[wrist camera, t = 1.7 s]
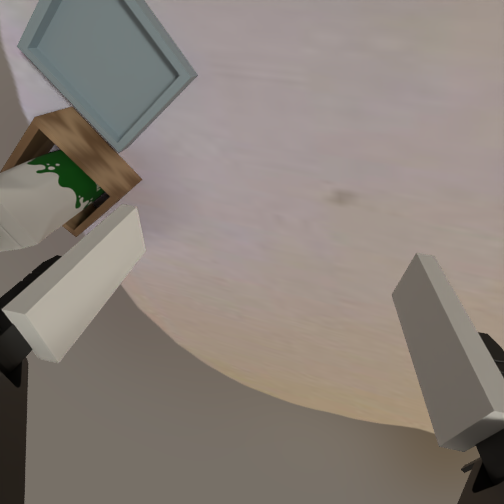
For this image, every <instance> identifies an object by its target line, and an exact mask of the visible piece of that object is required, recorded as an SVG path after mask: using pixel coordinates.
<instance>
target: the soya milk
mask: <svg viewBox="0 0 504 504" xmlns="http://www.w3.org/2000/svg"><path fill="white" fill-rule="evenodd" d="M103 193H105V191H104V190H103V189H102V188H101V187H100V186H99V185H98V184H96V183H95V182H94V181H93V180H92V179H91V178H90V177H89V176H88V175H87V174H86V173H85V172H84V171H83V170H82V169H81V168H80V167H79V166H78V165H77V164H75V163H74V162H73V161H72V160H71V159H70V158H69V157H68V156H67V155H66V154H65V153H64V152H63V151H62V150H57V151H54V152H50V153H47V154H44V155H41V156H39V157H36V158H34V159H31V160H29V161H27V162H24V163H22V164H20V165H17V166H15V167H13V168H10V169H8V170H6V171H4V172H1V173H0V252H3V251H10V250H19V249H23V248H26V247H29V246H35V245H38V244H39V243H40V242H41V241H42V240H43V239H45V238H46V237H47V236H48V235H49V234H50V233H52V232H53V231H55V230H56V229H58V228H59V227H60V226H62V225H63V224H65V223H66V222H67V221H69V220H70V219H71V218H73V217H74V216H75V215H77V214H78V213H79V212H81V211H82V210H83V209H85V208H86V207H87V206H89V205H90V204H91V203H92V202H94V201H95V200H96V199H97V198H99V197H100V196H101V195H102V194H103Z"/></svg>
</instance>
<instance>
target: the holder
mask: <svg viewBox="0 0 504 504" xmlns="http://www.w3.org/2000/svg"><path fill="white" fill-rule="evenodd" d="M55 144H56V145H57V146H58V147H59V148H60V149H61V150H62V151H63V152H64V153H65V154H66V155H67V156H68V157H69V158H70V159H71V160H72V161H73V162H74V163H75V164H77V165H78V166H79V167H80V168H81V169H82V170H83V171H84V172H85V173H86V174H87V175H88V176H89V177H90V178H91V179H92V180H93V181H94V182H95V183H96V184H98V185H99V186H100V187H101V188H102V189H103V190H104V191H105V192H106V193H107V194H108V195H109V196H110V197H109V198H108V199H107V200H106V201H105V202H104V203H103V204H102V205H101V206H100V207H99V208H96V207H95V206H94V205H93V204H92V203H91V204H90V205H89V206H87V207H86V208H85V209H83V210H82V211H81V212H79V213H78V214H77V215H75V216H74V217H73V218H71V219H70V220H69V221H67V222H66V223H65V224H63V225H62V226H63V227H64V228H66V229H67V230H68V231H69V232H70V233H72V234H73V235H74V236H75V237H77V236H78V235H79V234H80V233H82V232H83V231H84V230H85V229H87V228H88V227H89V226H90V225H91V224H92V223H94V222H95V221H96V220H97V219H98V218H100V217H101V216H102V215H103V214H104V213H105V212H106V211H108V210H109V209H110V208H111V207H112V206H113V205H114V204H115V203H117V202H118V201H119V200H120V199H121V198H122V197H123V196H124V195H125V194H127V193H128V192H129V191H130V190H131V189H132V188H133V187H134V186H136V185H137V184H138V183H139V182H140V181H141V180H142V179H141V178H140V177H139V176H138V175H137V174H136V172H135V171H134V170H133V169H132V168H131V167H130V166H129V165H128V164H127V163H126V162H125V161H124V160H123V159H122V158H121V157H120V156H119V155H118V154H117V153H116V152H115V151H114V150H113V148H112V147H111V146H110V145H109V144H108V143H107V142H106V141H105V140H104V139H103V138H102V137H101V136H100V135H99V134H98V133H97V132H96V131H95V130H94V129H93V128H92V127H91V125H90V124H89V123H88V122H87V121H86V120H85V119H84V118H83V117H82V116H81V115H80V114H79V113H78V112H77V111H76V110H75V109H74V108H73V107H69V108H65V109H62V110H58V111H55V112H51V113H47V114H44V115H40V116H37V117H35V118H34V119H33V121H32V122H31V124H30V126H29V127H28V129H27V130H26V132H25V133H24V135H23V137H22V138H21V140H20V142H19V143H18V145H17V146H16V148H15V149H14V151H13V153H12V155H11V156H10V157H9V159H8V160H7V162H6V164H5V165H4V167H3V168H2V170H1V172H4V171H6V170H8V169H10V168H13V167H15V166H17V165H20V164H22V163H24V162H27V161H29V160H31V159H34V158H36V157H39V156H41V155H44V154H47V153H49V151H50V150H51V149H52V147H53V146H54V145H55ZM1 172H0V173H1Z"/></svg>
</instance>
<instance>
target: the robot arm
mask: <svg viewBox="0 0 504 504" xmlns="http://www.w3.org/2000/svg"><path fill="white" fill-rule="evenodd" d="M145 252H146V249H145V244H144V239H143V234H142V229H141V224H140V220H139V215H138V210H137V207H136V206H130V205H124V204H122V205H120V206H119V207H118V208H117V209H116V210H115V211H114V212H112V213H111V214H110V215H109V216H108V217H107V218H106V219H104V220H103V221H102V222H101V223H100V224H99V225H98V226H96V227H95V228H94V229H93V230H92V231H91V232H90V233H88V234H87V235H86V236H85V237H84V238H83V239H82V240H80V241H79V242H78V243H77V244H76V245H75V246H74V247H73V248H71V249H70V250H69V251H68V252H67V253H66V254H64V255H63V256H58V255H57V256H55V257H53V258H51V259H49V260H47V261H45V262H43V263H42V264H41V265H39V266H38V267H37V268H36V269H34V270H33V271H32V273H31V274H28V275H27V276H26V277H25V278H24V279H23V281H20V282H19V283H18V284H17V285H15V286H14V287H13V288H12V289H11V290H10V291H8V292H7V293H6V294H4V295H3V296H2V297H1V298H0V504H24V495H25V459H26V458H25V456H26V424H27V387H28V361H27V358H26V356H27V355H28V354H29V353H30V352H31V350H33V351H34V353H35V354H36V355H37V357H38V358H39V359H43V360H47V361H52V362H56V363H59V362H60V361H61V359H62V358H63V357H64V356H65V354H66V353H67V352H68V350H69V349H70V348H71V347H72V345H73V344H74V343H75V341H76V340H77V339H78V338H79V336H80V335H81V333H83V331H84V330H85V328H86V327H87V326H88V325H89V323H90V322H91V321H92V320H93V318H94V317H95V316H96V314H97V313H98V312H99V310H100V309H101V308H102V307H103V305H104V304H105V303H106V302H107V300H108V299H109V298H110V297H111V295H112V294H113V293H114V291H115V290H116V289H117V287H118V286H119V285H120V284H121V282H122V281H123V280H124V279H125V277H126V276H127V275H128V273H129V272H130V271H131V270H132V268H133V267H134V266H135V265H136V263H137V262H138V261H139V259H140V258H141V257H142V256H143V254H144V253H145ZM392 298H393V301H394V304H395V307H396V310H397V314H398V317H399V320H400V323H401V326H402V330H403V333H404V336H405V339H406V342H407V346H408V349H409V352H410V355H411V358H412V362H413V365H414V368H415V371H416V374H417V377H418V381H419V384H420V387H421V390H422V393H423V397H424V400H425V403H426V406H427V409H428V413H429V416H430V419H431V422H432V425H433V429H434V432H435V435H436V438H437V441H438V445H439V447H444V448H448V449H453V450H458V451H462V452H465V451H467V450H468V449H470V448H472V447H474V446H477V449H478V452H479V454H480V458H478V459H476V460H474V461H472V462H470V463H468V464H466V465H465V466H463V468H462V469H461V470H462V471H463V472H464V473H465V472H467V471H469V470H471V469H472V471H471V473H470V475H469V478H468V480H467V482H466V485H465V487H464V489H463V492H462V494H461V497H460V499H459V501H458V504H504V351H503V349H502V348H501V347H500V346H499V345H498V344H497V343H496V342H495V341H494V340H493V339H492V338H491V337H490V336H489V335H488V334H485V333H480V332H477V330H476V328H475V326H474V325H473V323H472V321H471V319H470V318H469V316H468V314H467V312H466V311H465V309H464V307H463V305H462V304H461V302H460V300H459V298H458V296H457V295H456V293H455V291H454V289H453V288H452V286H451V284H450V282H449V281H448V279H447V277H446V275H445V274H444V272H443V270H442V268H441V266H440V265H439V263H438V261H437V259H436V258H435V256H433V255H427V254H421V253H416V255H415V256H414V258H413V260H412V261H411V263H410V265H409V266H408V268H407V270H406V271H405V273H404V275H403V276H402V278H401V280H400V282H399V283H398V285H397V287H396V288H395V290H394V292H393V293H392Z"/></svg>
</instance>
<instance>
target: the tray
mask: <svg viewBox="0 0 504 504" xmlns="http://www.w3.org/2000/svg"><path fill="white" fill-rule="evenodd" d="M17 47H18V48H19V49H20V50H21V51H22V52H23V53H24V54H25V55H26V56H27V57H28V58H29V59H30V60H31V61H32V63H33V64H34V65H35V66H36V67H37V68H38V69H39V70H40V71H41V72H42V73H43V74H44V75H45V76H46V77H47V78H48V79H49V80H50V81H51V82H52V83H53V85H54V86H55V87H56V88H57V89H58V90H59V91H60V92H61V93H62V94H63V95H64V96H65V97H66V98H67V99H68V100H69V101H70V102H71V103H72V104H73V105H74V107H75V108H76V109H77V110H78V111H79V112H80V113H81V114H82V115H83V116H84V117H85V118H86V119H87V120H88V121H89V122H90V123H91V124H92V125H93V126H94V128H95V129H96V130H97V131H98V132H99V133H100V134H101V135H102V136H103V137H104V138H105V139H106V140H107V141H108V142H109V143H110V144H111V145H112V146H113V147H114V148H115V150H116V151H117V152H118V153H120V152H121V151H123V150H125V149H126V148H128V147H129V146H130V145H131V144H132V143H133V142H134V141H135V140H136V139H137V138H138V137H139V135H140V134H141V133H142V132H143V131H144V130H145V129H146V128H147V127H148V126H149V125H150V124H151V123H152V122H153V121H154V120H155V119H156V118H157V117H158V116H159V115H160V114H161V113H162V112H163V111H164V110H165V109H166V108H167V107H168V106H169V105H170V104H171V102H172V101H173V100H174V99H175V98H176V97H177V96H178V95H179V94H180V93H181V92H182V91H183V90H184V89H185V88H186V87H187V86H188V85H189V84H190V83H191V82H192V81H193V80H194V79H195V78H196V77H197V76H198V75H197V74H196V72H195V71H194V69H193V68H192V67H191V65H190V64H189V62H188V61H187V60H186V58H185V57H184V55H183V54H182V53H181V51H180V50H179V48H178V47H177V46H176V44H175V43H174V41H173V40H172V39H171V37H170V36H169V34H168V33H167V32H166V30H165V29H164V27H163V26H162V25H161V23H160V22H159V20H158V19H157V18H156V16H155V15H154V13H153V12H152V11H151V9H150V8H149V6H148V5H147V4H146V2H145V1H144V0H39V2H38V4H37V6H36V8H35V10H34V12H33V14H32V16H31V18H30V20H29V22H28V25H27V27H26V29H25V31H24V33H23V35H22V37H21V39H20V41H19V43H18V45H17Z"/></svg>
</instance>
